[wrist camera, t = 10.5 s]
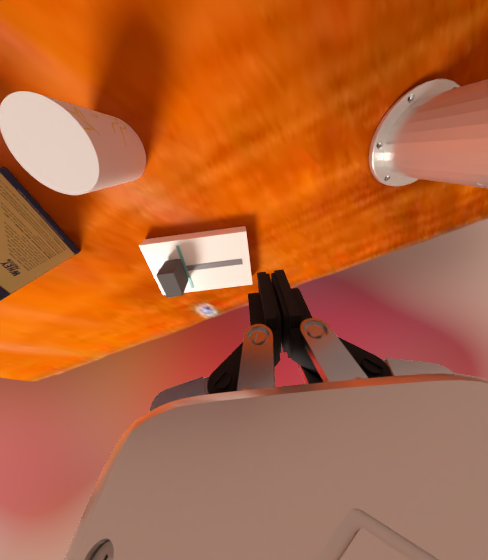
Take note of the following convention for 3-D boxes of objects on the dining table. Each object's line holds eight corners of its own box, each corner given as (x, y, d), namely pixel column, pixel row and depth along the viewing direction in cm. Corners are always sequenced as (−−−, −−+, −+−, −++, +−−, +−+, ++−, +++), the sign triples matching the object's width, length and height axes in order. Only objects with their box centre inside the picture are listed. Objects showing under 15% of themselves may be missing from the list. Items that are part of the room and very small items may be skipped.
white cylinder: (146, 128, 26) (92, 113, 16) (146, 188, 30) (103, 204, 21) (82, 105, 24) (-20, 72, 15) (92, 171, 29) (18, 181, 19)
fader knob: (180, 258, 34) (173, 272, 30) (188, 279, 37) (182, 295, 33) (165, 260, 35) (156, 275, 30) (174, 281, 37) (166, 297, 33)
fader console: (245, 225, 35) (246, 231, 32) (251, 276, 42) (252, 284, 39) (145, 239, 36) (138, 245, 33) (167, 286, 42) (162, 295, 40)
